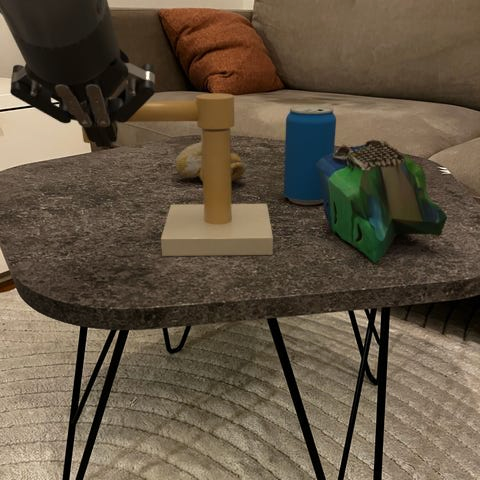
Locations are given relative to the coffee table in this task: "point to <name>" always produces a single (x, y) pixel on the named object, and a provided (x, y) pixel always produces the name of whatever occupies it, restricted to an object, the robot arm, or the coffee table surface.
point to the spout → (188, 112)
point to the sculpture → (376, 197)
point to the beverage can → (307, 151)
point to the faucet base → (217, 212)
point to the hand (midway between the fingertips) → (105, 139)
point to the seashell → (192, 163)
